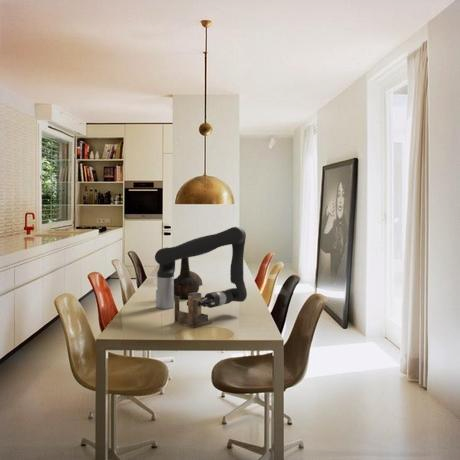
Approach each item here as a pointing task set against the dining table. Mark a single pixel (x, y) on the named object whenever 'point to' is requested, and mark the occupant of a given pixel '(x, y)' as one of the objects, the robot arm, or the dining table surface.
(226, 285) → the dining table surface
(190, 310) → the brown wooden block
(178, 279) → the glass bottle
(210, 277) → the dining table surface
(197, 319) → the board
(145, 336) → the dining table surface
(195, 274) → the decorative dome
